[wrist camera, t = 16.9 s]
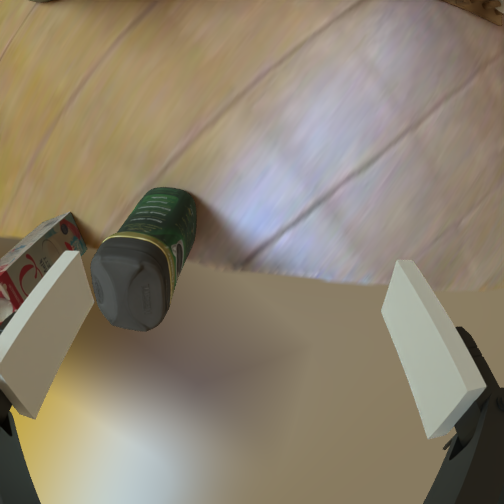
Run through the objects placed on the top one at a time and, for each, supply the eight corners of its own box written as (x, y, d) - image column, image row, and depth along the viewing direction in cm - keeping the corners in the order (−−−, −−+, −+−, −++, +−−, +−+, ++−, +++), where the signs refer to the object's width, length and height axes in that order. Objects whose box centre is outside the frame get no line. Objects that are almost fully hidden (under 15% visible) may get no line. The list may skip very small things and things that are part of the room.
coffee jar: (141, 183, 41) (76, 249, 25) (199, 187, 42) (160, 259, 26) (144, 246, 46) (94, 331, 30) (196, 252, 46) (166, 344, 30)
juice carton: (70, 211, 44) (-19, 296, 24) (87, 249, 47) (13, 344, 27) (42, 222, 44) (-43, 302, 25) (59, 257, 48) (-14, 346, 28)
